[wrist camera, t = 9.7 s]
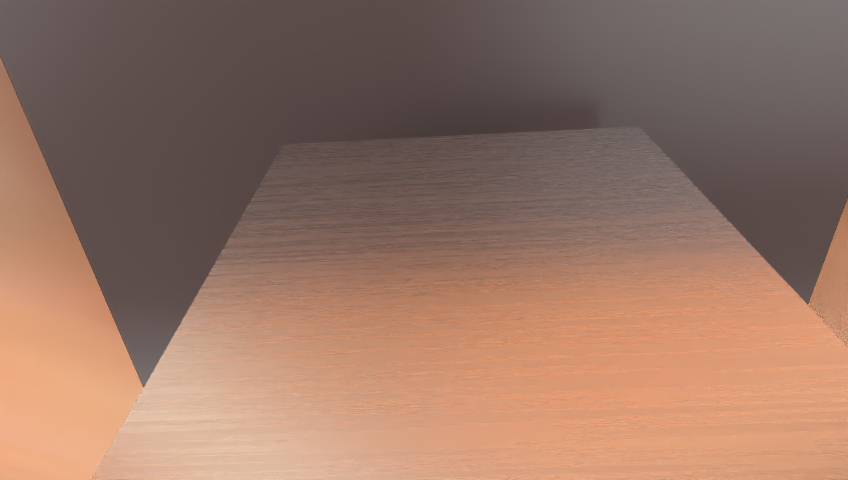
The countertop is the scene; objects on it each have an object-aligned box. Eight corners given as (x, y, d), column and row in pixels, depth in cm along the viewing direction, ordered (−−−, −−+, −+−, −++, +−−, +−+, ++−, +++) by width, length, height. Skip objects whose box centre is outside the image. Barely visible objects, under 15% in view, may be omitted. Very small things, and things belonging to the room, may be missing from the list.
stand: (844, -174, 10) (995, -199, 7) (690, 400, 17) (738, 490, 14) (48, -122, 10) (-80, -128, 8) (229, 418, 17) (196, 509, 15)
